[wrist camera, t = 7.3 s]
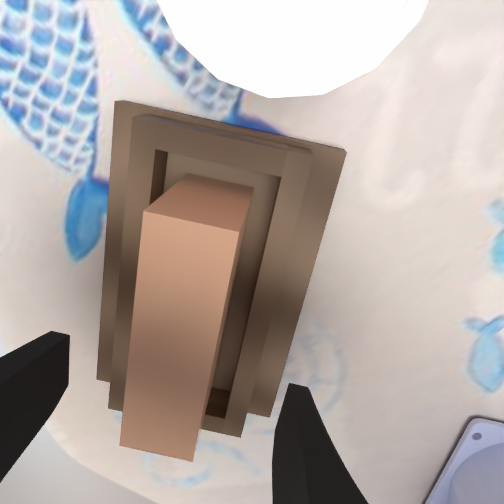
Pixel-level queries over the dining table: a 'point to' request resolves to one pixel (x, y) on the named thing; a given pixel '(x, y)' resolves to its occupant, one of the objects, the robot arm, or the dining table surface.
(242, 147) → the tray
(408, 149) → the dining table surface
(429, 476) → the dining table surface
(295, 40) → the beverage cup
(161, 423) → the tan rectangular block
